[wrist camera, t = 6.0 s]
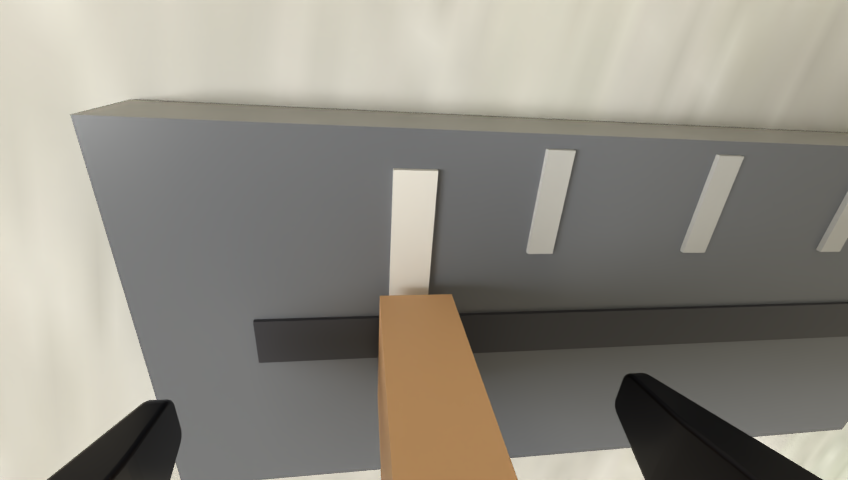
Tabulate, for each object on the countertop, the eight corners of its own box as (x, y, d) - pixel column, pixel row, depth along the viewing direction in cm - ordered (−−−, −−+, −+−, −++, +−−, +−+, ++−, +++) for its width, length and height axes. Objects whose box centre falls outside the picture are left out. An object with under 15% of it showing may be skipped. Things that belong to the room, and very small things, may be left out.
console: (789, 387, 16) (845, 432, 14) (207, 425, 13) (181, 490, 11) (942, 137, 12) (1050, 155, 10) (130, 99, 9) (66, 115, 7)
